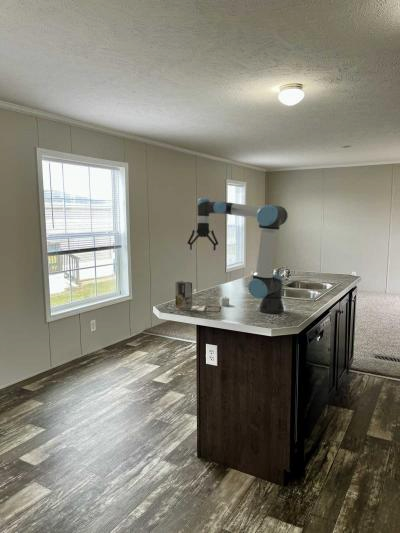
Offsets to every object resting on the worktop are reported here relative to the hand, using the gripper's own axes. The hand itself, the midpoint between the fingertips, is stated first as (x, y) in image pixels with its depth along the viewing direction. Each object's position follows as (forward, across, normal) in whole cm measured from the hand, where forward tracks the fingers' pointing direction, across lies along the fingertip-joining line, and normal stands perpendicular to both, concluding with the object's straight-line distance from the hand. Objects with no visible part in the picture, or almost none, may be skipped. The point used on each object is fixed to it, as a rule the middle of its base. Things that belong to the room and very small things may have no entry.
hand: (202, 255), depth 254 cm
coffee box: (+32, +10, +14) cm, 37 cm away
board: (+33, +1, +14) cm, 36 cm away
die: (+33, -15, 0) cm, 36 cm away
